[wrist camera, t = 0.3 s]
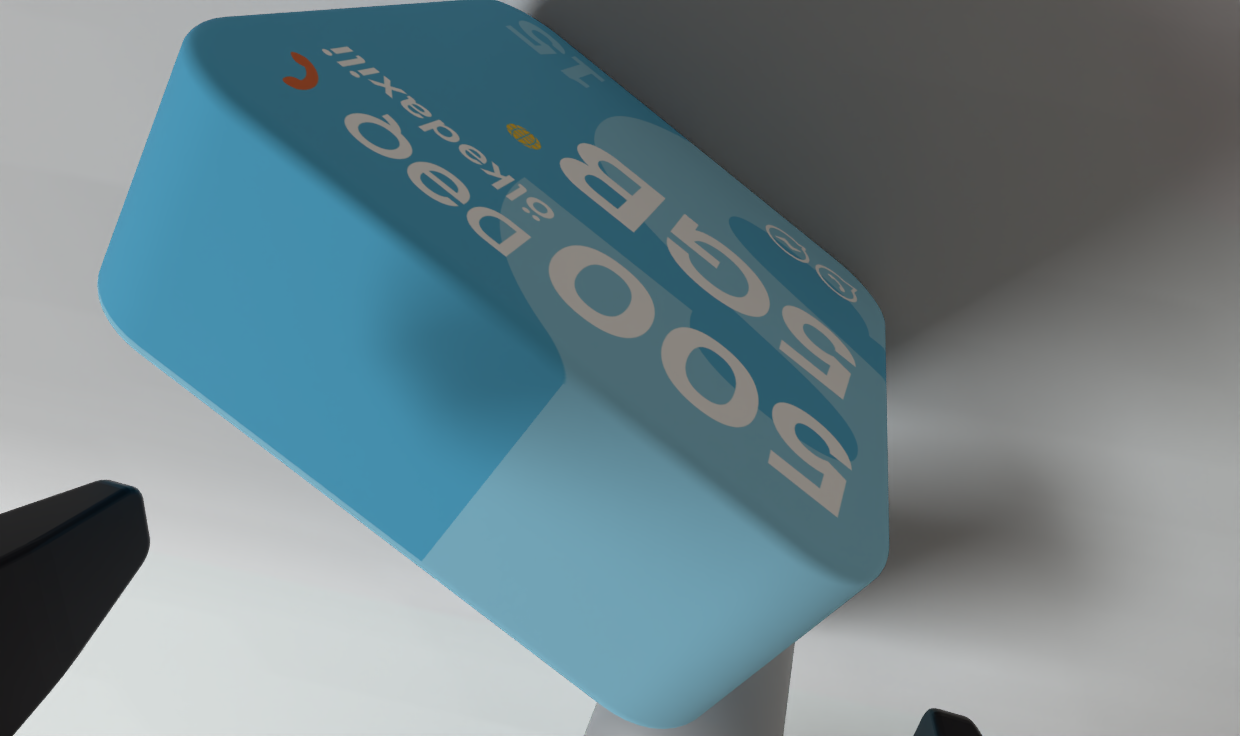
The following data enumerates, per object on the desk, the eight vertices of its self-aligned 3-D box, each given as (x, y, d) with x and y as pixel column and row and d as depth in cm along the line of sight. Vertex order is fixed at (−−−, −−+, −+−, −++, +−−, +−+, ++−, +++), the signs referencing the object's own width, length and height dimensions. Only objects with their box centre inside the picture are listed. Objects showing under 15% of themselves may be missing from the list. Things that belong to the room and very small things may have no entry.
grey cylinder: (785, 637, 26) (752, 878, 19) (649, 598, 27) (569, 815, 20) (818, 523, 24) (794, 746, 17) (670, 484, 25) (589, 682, 18)
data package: (890, 300, 21) (901, 623, 11) (772, 417, 23) (686, 779, 13) (508, -9, 21) (123, 12, 10) (424, 141, 23) (36, 286, 12)
